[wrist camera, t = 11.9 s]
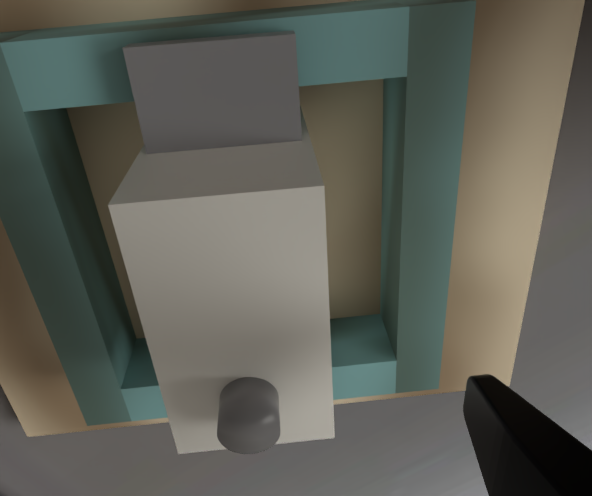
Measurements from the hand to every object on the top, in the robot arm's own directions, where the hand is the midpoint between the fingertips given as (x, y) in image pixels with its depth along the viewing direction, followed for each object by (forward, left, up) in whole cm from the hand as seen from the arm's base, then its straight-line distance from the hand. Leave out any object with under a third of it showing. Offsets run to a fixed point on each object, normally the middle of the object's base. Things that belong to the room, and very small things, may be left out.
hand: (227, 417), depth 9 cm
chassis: (0, 0, -9) cm, 9 cm away
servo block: (0, 0, -8) cm, 8 cm away
